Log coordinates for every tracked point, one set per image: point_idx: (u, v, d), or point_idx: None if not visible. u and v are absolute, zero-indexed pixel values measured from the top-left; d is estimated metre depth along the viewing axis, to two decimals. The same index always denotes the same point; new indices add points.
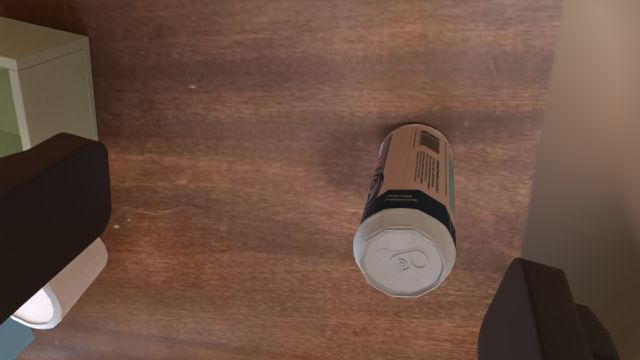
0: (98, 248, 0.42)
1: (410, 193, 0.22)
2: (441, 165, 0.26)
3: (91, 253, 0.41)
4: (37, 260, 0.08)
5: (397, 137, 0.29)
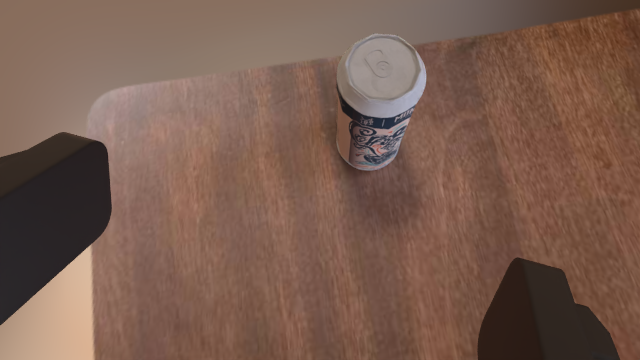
0: None
1: (338, 91, 0.27)
2: None
3: None
4: (37, 260, 0.08)
5: (343, 150, 0.33)
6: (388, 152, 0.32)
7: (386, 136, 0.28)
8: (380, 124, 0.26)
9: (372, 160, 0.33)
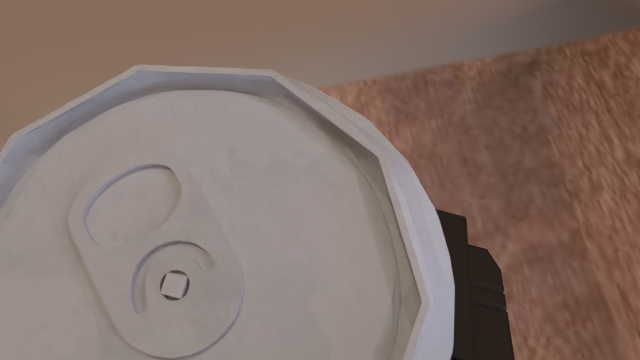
0: None
1: None
2: None
3: None
4: None
5: None
6: None
7: None
8: None
9: None
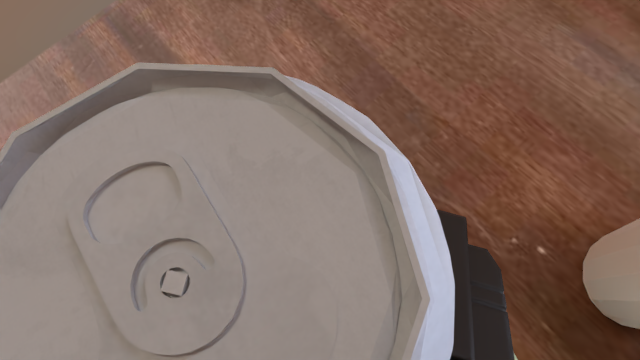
0: (593, 250, 0.28)
1: None
2: None
3: (599, 249, 0.27)
4: None
5: None
6: None
7: None
8: None
9: None
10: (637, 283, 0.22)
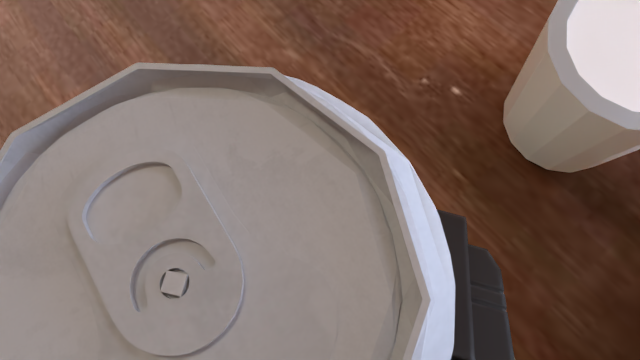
0: None
1: None
2: None
3: None
4: None
5: None
6: None
7: None
8: None
9: None
10: (544, 72, 0.18)
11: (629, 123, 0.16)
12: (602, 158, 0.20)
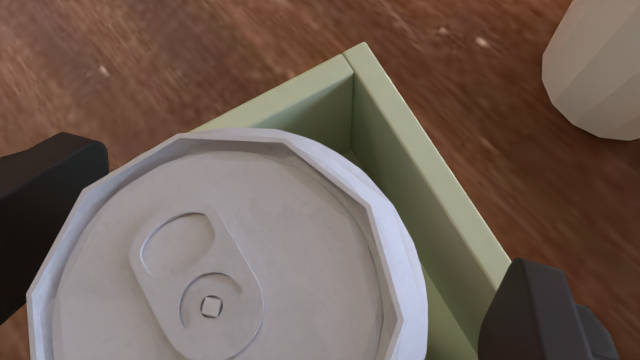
0: (556, 30, 0.19)
1: None
2: None
3: (563, 17, 0.18)
4: (37, 260, 0.08)
5: None
6: None
7: None
8: None
9: None
10: None
11: None
12: None
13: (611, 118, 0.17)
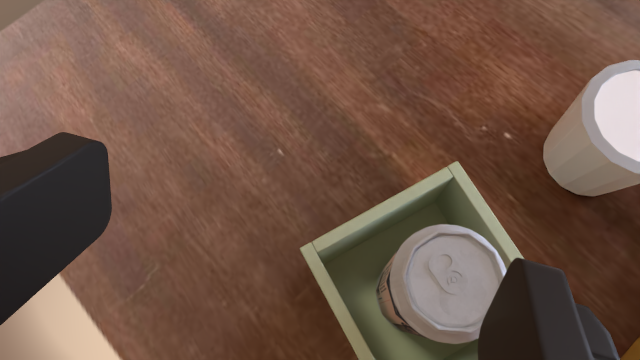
0: (551, 131, 0.32)
1: (389, 289, 0.21)
2: (387, 265, 0.25)
3: (555, 126, 0.31)
4: (37, 260, 0.08)
5: (386, 316, 0.27)
6: None
7: None
8: None
9: None
10: (579, 133, 0.26)
11: (636, 169, 0.25)
12: (617, 188, 0.28)
13: (581, 186, 0.30)
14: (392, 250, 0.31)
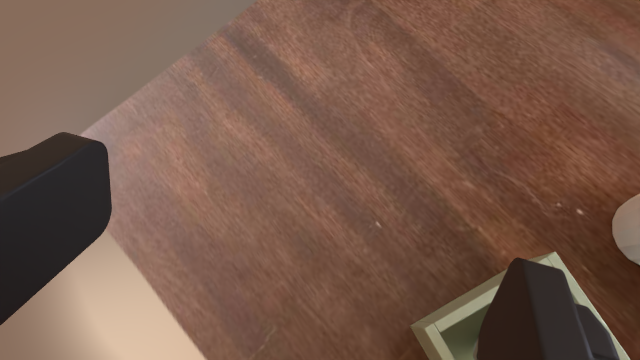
0: (620, 210, 0.37)
1: None
2: None
3: (625, 208, 0.36)
4: (37, 260, 0.08)
5: None
6: None
7: None
8: None
9: None
10: None
11: None
12: None
13: None
14: None
